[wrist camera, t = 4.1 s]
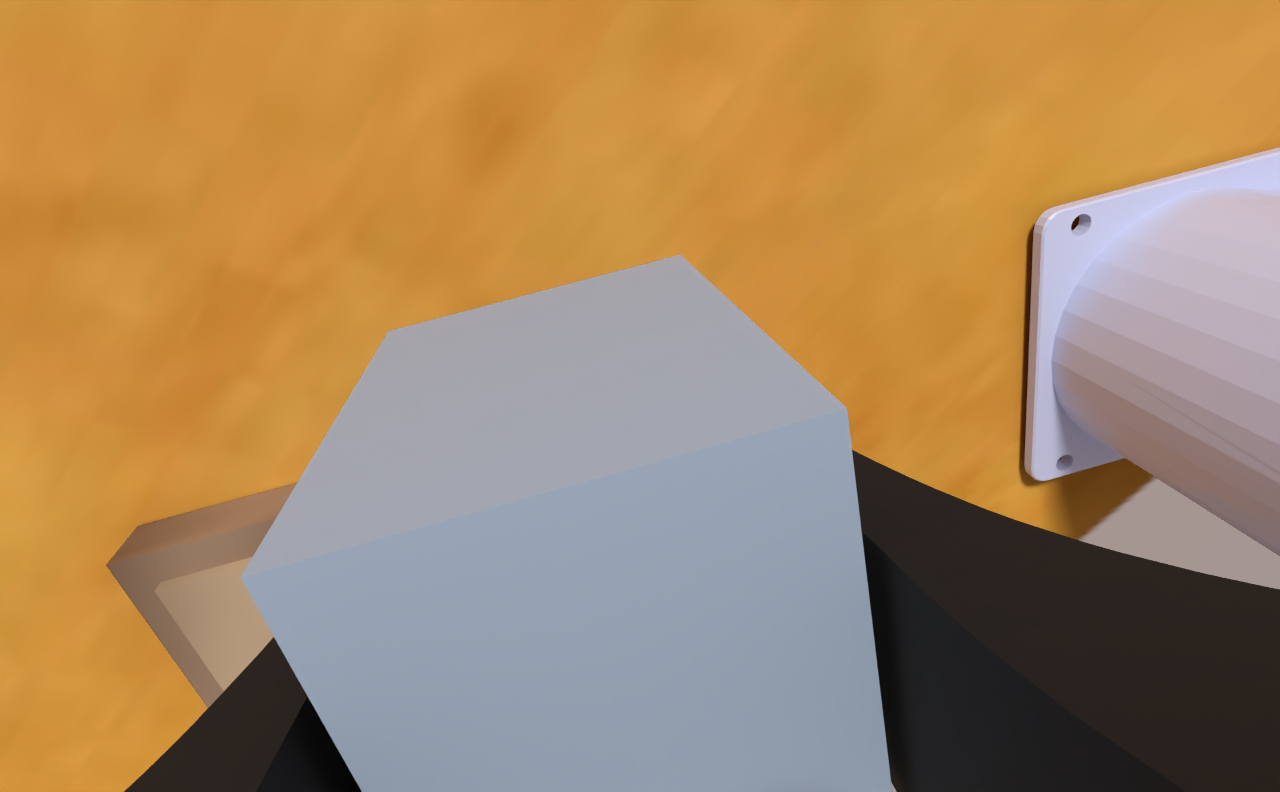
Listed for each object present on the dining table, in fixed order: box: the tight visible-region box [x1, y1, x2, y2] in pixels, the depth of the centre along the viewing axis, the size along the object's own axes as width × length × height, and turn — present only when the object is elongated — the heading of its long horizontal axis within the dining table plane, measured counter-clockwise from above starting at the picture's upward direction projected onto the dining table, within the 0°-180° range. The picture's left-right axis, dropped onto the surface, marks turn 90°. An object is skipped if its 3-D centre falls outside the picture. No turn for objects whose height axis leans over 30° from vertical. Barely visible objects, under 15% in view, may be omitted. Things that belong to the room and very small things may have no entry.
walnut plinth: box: [106, 483, 297, 708], centre depth 19 cm, size 10×10×2 cm
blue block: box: [240, 255, 892, 792], centre depth 9 cm, size 4×4×6 cm
